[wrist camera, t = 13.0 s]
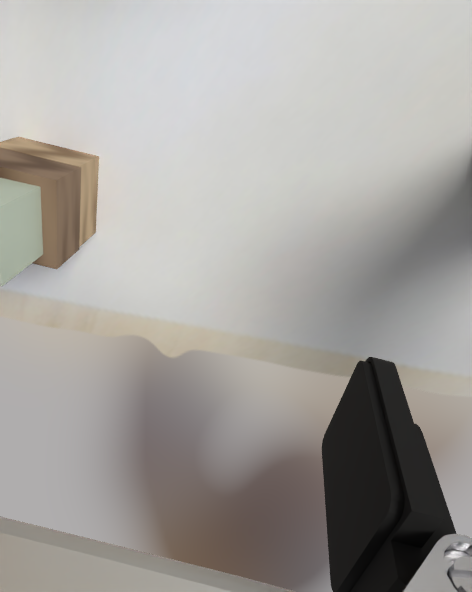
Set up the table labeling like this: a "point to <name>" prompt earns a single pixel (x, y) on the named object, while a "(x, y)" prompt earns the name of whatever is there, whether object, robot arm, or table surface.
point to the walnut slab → (50, 201)
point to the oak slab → (70, 157)
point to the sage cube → (19, 227)
